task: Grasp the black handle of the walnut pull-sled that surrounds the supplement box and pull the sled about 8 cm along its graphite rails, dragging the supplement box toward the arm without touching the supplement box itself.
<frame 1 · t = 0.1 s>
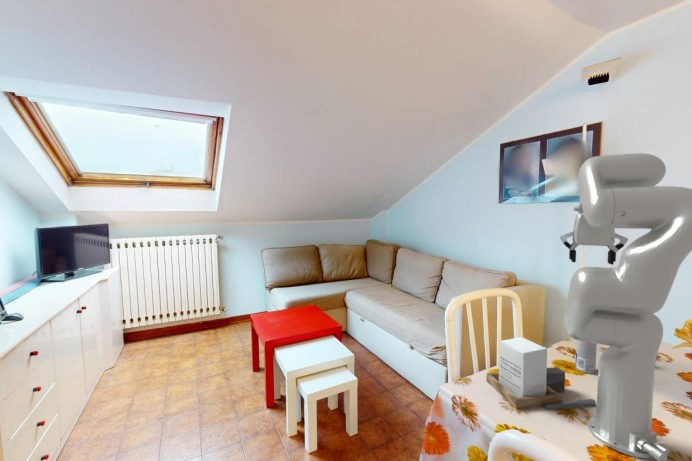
hand: (591, 262, 98), 37 cm above the table, tool pointing down, fingers open, 9 cm apart
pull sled: (530, 381, 90), point 3 cm above the table, slide at 0.0 cm
energy drink: (585, 370, 103), on the table
supplement box: (521, 393, 89), resting in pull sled
lane rails: (547, 390, 91), on the table
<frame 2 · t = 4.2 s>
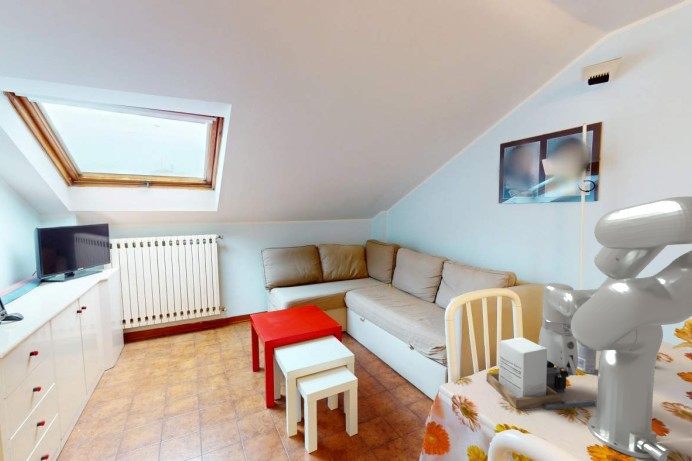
hand: (555, 384, 91), 2 cm above the table, tool pointing down, fingers closed on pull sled, 3 cm apart
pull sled: (530, 381, 90), point 3 cm above the table, slide at 0.0 cm, touching gripper
everything else where it was.
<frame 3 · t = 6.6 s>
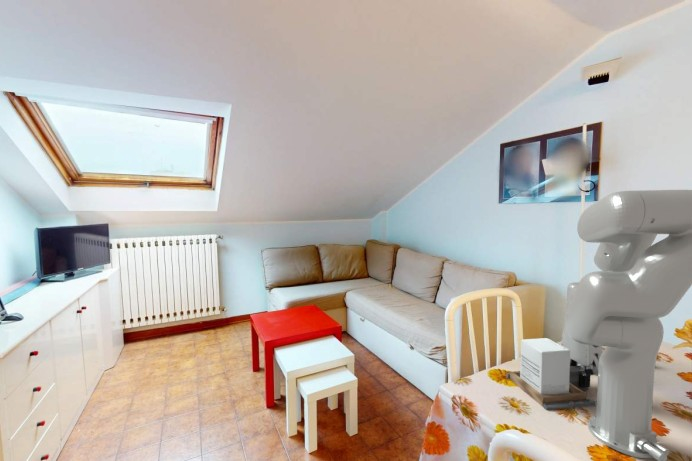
hand: (578, 382, 92), 2 cm above the table, tool pointing down, fingers closed on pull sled, 3 cm apart
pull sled: (555, 379, 91), point 3 cm above the table, slide at 8.0 cm, touching gripper
supplement box: (542, 393, 89), resting in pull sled
everything else where it was.
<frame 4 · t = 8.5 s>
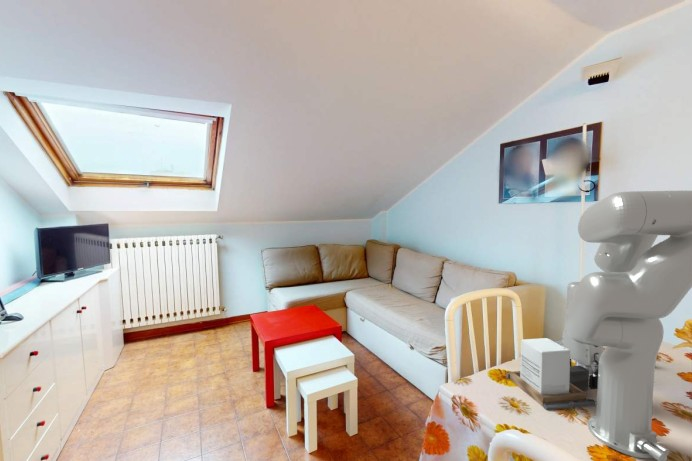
hand: (579, 379, 91), 3 cm above the table, tool pointing down, fingers open, 9 cm apart
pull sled: (555, 379, 91), point 3 cm above the table, slide at 8.0 cm
everything else where it was.
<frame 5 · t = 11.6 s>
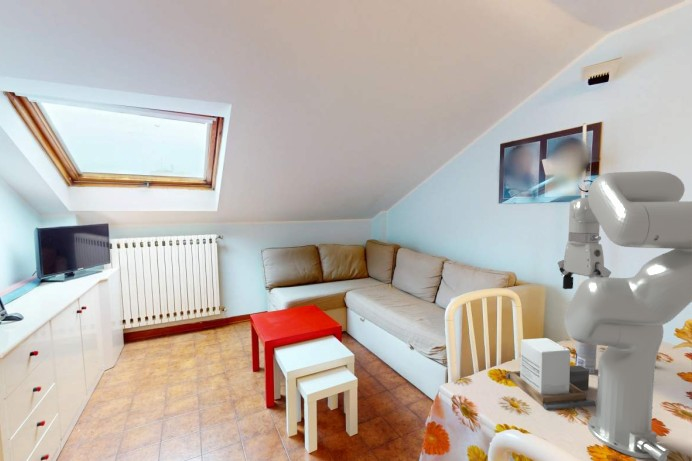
hand: (580, 292, 95), 28 cm above the table, tool pointing down, fingers open, 9 cm apart
nothing on the table moved.
at the end: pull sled slide at 8.0 cm; supplement box inside the target area (0.9 cm from its centre), resting in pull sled; supplement box tilted 0° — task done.
